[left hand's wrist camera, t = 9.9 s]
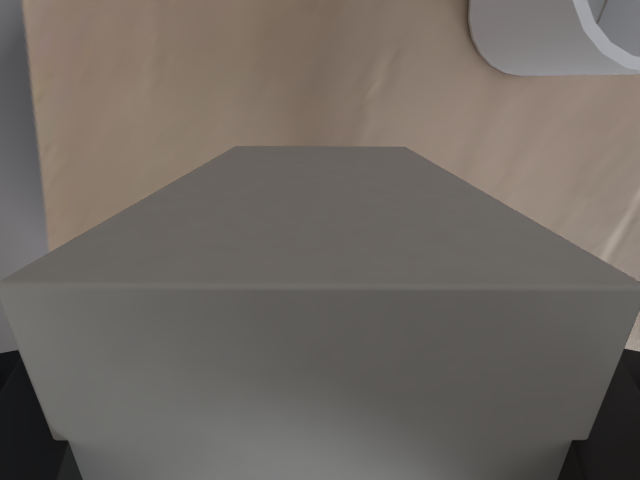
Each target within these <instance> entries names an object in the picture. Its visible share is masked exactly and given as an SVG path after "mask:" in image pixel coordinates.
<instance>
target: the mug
mask: <svg viewBox="0 0 640 480" xmlns="http://www.w3.org/2000/svg"><path fill="white" fill-rule="evenodd" d="M468 23H469V28H470V34H471V39H472V41H473V43H474V45H475V47H476V49H477V51H478V53H479V55H480V56H481V57H482V58H483V59H484V60H485V61H486V62H487V63H488V64H489V65H490V66H491V67H493V68H495V69H497V70H498V71H500V72H502V73H505V74H510V75H515V76H561V75H625V74H640V0H469V9H468Z"/></svg>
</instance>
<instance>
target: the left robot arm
mask: <svg viewBox="0 0 640 480" xmlns="http://www.w3.org/2000/svg"><path fill="white" fill-rule="evenodd" d="M0 480H83V479H82V476H81V473H80V471H79V468H78V465H77V463H76V460H75V457H74V455H73V452H72V449H71V447H70V444H69V441H68V440H55V439H53V436H52V434H51V431H50V428H49V426H48V423H47V421H46V418H45V416H44V413H43V411H42V408H41V406H40V403H39V401H38V398H37V396H36V393H35V390H34V388H33V385H32V383H31V380H30V378H29V375H28V373H27V370H26V368H25V365H24V363H23V360H22V357H21V355H20V352H19V350H16V351H10V352H5V353H0ZM557 480H640V352H639V351H634V350H628V349H624V350H623V352H622V355H621V357H620V360H619V362H618V365H617V367H616V369H615V372H614V374H613V377H612V379H611V382H610V384H609V387H608V389H607V392H606V394H605V397H604V399H603V402H602V404H601V407H600V409H599V411H598V414H597V416H596V419H595V421H594V424H593V426H592V429H591V431H590V434H589V436H588V439H586V440H572V442H571V445H570V447H569V450H568V453H567V455H566V458H565V460H564V463H563V466H562V468H561V471H560V474H559V476H558V479H557Z"/></svg>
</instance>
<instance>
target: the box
mask: <svg viewBox="0 0 640 480" xmlns="http://www.w3.org/2000/svg"><path fill="white" fill-rule="evenodd" d="M0 304H1V307H2V309H3V312H4V314H5V317H6V319H7V322H8V324H9V327H10V329H11V332H12V335H13V337H14V340H15V342H16V345H17V347H18V350H19V352H20V355H21V357H22V360H23V363H24V365H25V368H26V370H27V373H28V375H29V378H30V380H31V383H32V385H33V388H34V390H35V393H36V396H37V398H38V401H39V403H40V406H41V408H42V411H43V413H44V416H45V418H46V421H47V423H48V426H49V428H50V431H51V434H52V436H53V439H55V440H68V441H69V444H70V447H71V449H72V452H73V455H74V457H75V460H76V463H77V465H78V468H79V471H80V473H81V476H82V479H83V480H557V479H558V476H559V474H560V471H561V468H562V466H563V463H564V460H565V458H566V455H567V453H568V450H569V447H570V445H571V442H572V440H586V439H588V436H589V434H590V431H591V429H592V426H593V424H594V421H595V419H596V416H597V414H598V411H599V409H600V407H601V404H602V402H603V399H604V397H605V394H606V392H607V389H608V387H609V384H610V382H611V379H612V377H613V374H614V372H615V369H616V367H617V365H618V362H619V360H620V357H621V355H622V352H623V350H624V347H625V345H626V342H627V340H628V337H629V335H630V332H631V330H632V327H633V325H634V322H635V320H636V318H637V315H638V313H639V310H640V282H639V281H637V280H636V279H634V278H632V277H630V276H629V275H627V274H625V273H623V272H622V271H620V270H618V269H616V268H615V267H613V266H611V265H609V264H608V263H606V262H604V261H602V260H601V259H599V258H597V257H596V256H594V255H592V254H590V253H589V252H587V251H585V250H583V249H582V248H580V247H578V246H576V245H575V244H573V243H571V242H569V241H568V240H566V239H564V238H563V237H561V236H559V235H557V234H556V233H554V232H552V231H550V230H549V229H547V228H545V227H543V226H542V225H540V224H538V223H536V222H535V221H533V220H531V219H530V218H528V217H526V216H524V215H523V214H521V213H519V212H517V211H516V210H514V209H512V208H510V207H509V206H507V205H505V204H503V203H502V202H500V201H498V200H497V199H495V198H493V197H491V196H490V195H488V194H486V193H484V192H483V191H481V190H479V189H477V188H476V187H474V186H472V185H470V184H469V183H467V182H465V181H464V180H462V179H460V178H458V177H457V176H455V175H453V174H451V173H450V172H448V171H446V170H444V169H443V168H441V167H439V166H437V165H436V164H434V163H432V162H431V161H429V160H427V159H425V158H424V157H422V156H420V155H418V154H417V153H415V152H413V151H411V150H410V149H408V148H406V147H296V146H236V147H234V148H232V149H230V150H228V151H227V152H225V153H223V154H221V155H220V156H218V157H216V158H214V159H213V160H211V161H209V162H207V163H206V164H204V165H202V166H200V167H199V168H197V169H195V170H193V171H192V172H190V173H188V174H186V175H185V176H183V177H181V178H179V179H178V180H176V181H174V182H172V183H171V184H169V185H167V186H165V187H164V188H162V189H160V190H158V191H157V192H155V193H153V194H151V195H150V196H148V197H146V198H144V199H143V200H141V201H139V202H137V203H136V204H134V205H132V206H130V207H129V208H127V209H125V210H123V211H122V212H120V213H118V214H116V215H115V216H113V217H111V218H110V219H108V220H106V221H104V222H103V223H101V224H99V225H97V226H96V227H94V228H92V229H90V230H89V231H87V232H85V233H83V234H82V235H80V236H78V237H76V238H75V239H73V240H71V241H69V242H68V243H66V244H64V245H62V246H61V247H59V248H57V249H55V250H54V251H52V252H50V253H48V254H47V255H45V256H43V257H41V258H40V259H38V260H36V261H34V262H33V263H31V264H29V265H27V266H26V267H24V268H22V269H20V270H19V271H17V272H15V273H13V274H12V275H10V276H8V277H6V278H5V279H3V280H1V281H0Z"/></svg>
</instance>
